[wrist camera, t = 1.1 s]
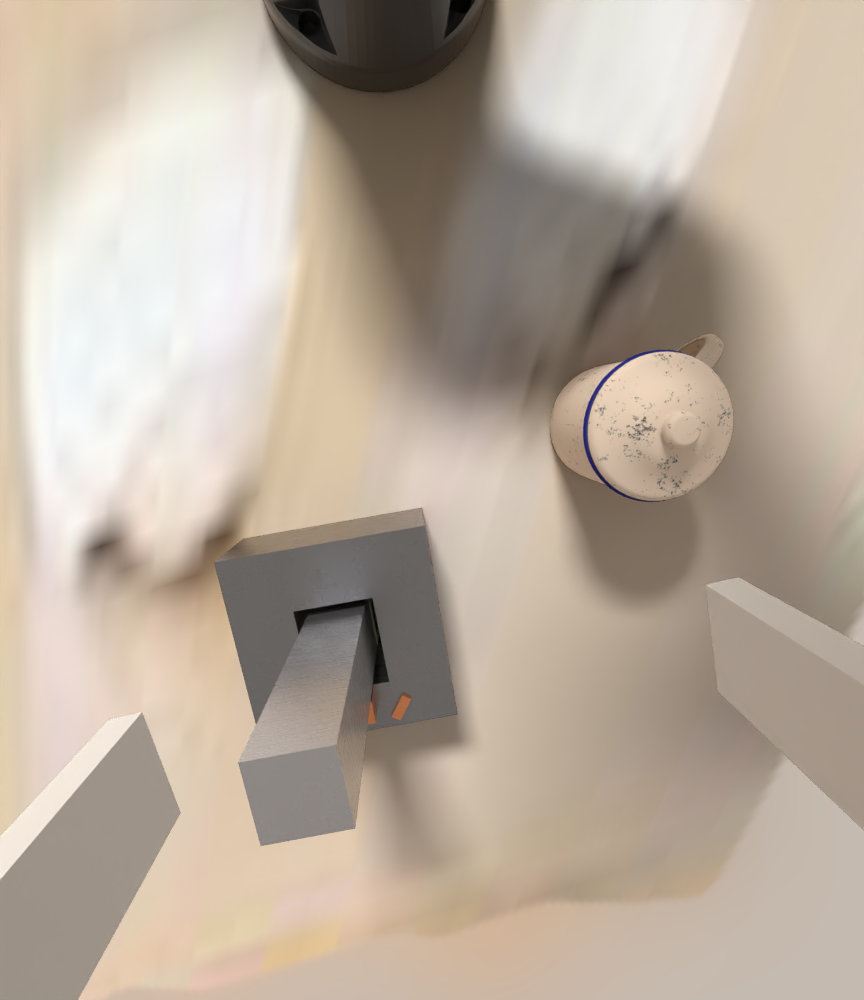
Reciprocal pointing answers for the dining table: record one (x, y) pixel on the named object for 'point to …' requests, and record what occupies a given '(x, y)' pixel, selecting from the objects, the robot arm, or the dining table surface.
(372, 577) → the sleeve base
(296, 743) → the column
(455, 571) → the dining table surface
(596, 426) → the teacup with lid
